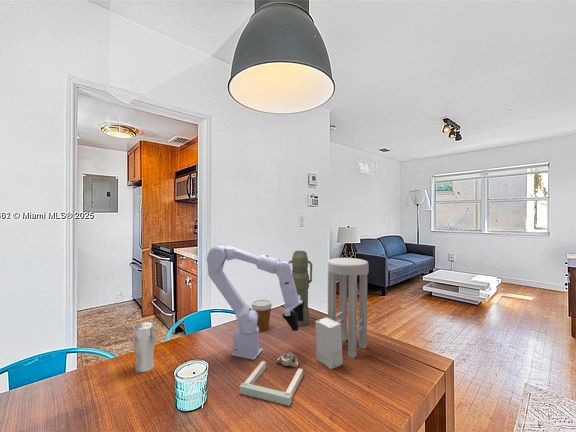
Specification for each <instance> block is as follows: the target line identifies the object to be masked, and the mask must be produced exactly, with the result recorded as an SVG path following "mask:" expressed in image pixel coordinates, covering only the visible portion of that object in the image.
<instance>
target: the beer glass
mask: <svg viewBox="0 0 576 432" xmlns="http://www.w3.org/2000/svg"><path fill="white" fill-rule="evenodd" d="M156 339H157V338H156V323H155V322H153V321H143V322H138V323H137V324H135V325H134V326H133V333H132V342H133V348H134V349H133V350H134V353H135V358H136V360H135V361H136V362H135V366H134V371H135V372H136V373H140V374H141V373H142V372H143V373H146V372H148V371H151V370H153V369H154V368H155V360H154V351H155V346H156ZM143 373H142V374H143Z"/></svg>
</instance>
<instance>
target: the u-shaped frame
mask: <svg viewBox="0 0 576 432" xmlns="http://www.w3.org/2000/svg"><path fill="white" fill-rule="evenodd" d="M266 369H267V361H264V360H261V361H260V363H259V364H258V365H257V367H255V369H254V370H253V371H252V372H251V374H250V375H249V376H248V377H247V379H245V381H244V382H241V384H240V385H239V394H240V395H244V396H249V397H252V398H257V399H260V400H264V401H267V402H268V401H269V402H272V403H277V404H281V405H284V406H288V407H290V406H291V405H292V402H293V397H294V395H295V392H296V390H297V389H298V387H299V385H300V382H301V380H302V379H303V376H304V369H303V368H297V370H296V372H295V374H294V376H293V378H292V380H291V381H290V384H289V385H288V387H287V388H286V391H281V390H276V389H272V388H269V387H265V386H259V385H255V383H256V382H257V380H258V379H259V378H260V376H261V375H262V373H264V371H265V370H266Z"/></svg>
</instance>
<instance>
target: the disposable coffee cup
mask: <svg viewBox="0 0 576 432" xmlns="http://www.w3.org/2000/svg"><path fill="white" fill-rule="evenodd" d="M272 306H273V305H272V301H270V300H269V299H268V300H267V299H258V300H254V301H252V303H251V306H250V307H251V308H252V309H253V310H255V311H256V312H257V313H258V320H257V326H258V328H259V332H264V331H265V332H266V331H267V330H269V326H270V318H271V311H272Z"/></svg>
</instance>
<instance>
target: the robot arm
mask: <svg viewBox="0 0 576 432" xmlns="http://www.w3.org/2000/svg"><path fill="white" fill-rule="evenodd" d="M232 260H239V261H242V262H246V263H249V264H253V265H255V266H256V267H257V269H258V270H261V271H264V272H265V273H270V274H273V275H274V274H276V276H277V277H278V280H279V282H278V284H279V287H280V290H281V294H282V295H281V296H282V298H283V302H284V310H283V314H282V315H281V316H282V318H283V319H284V320H285V321H286V322H287V323H288V325H289V327H290V329H291V330H292V332H294V331H296V332H297V331H298V330H299V326H298V323H297V319H298V321H303V320H304V315H303V308H304V301H302V300H301V297H300V295H298V294H297V290H296V286H295V283H294V279H293V278H292V277H293V276H292V267H291V265H289V261H286V260H285V259H281V258H275V257H273V256H272V257H271V256H270V254H268V253H265V254H261V255H256V254H252V253H250V252H248V251H246V250H242V249H240V248H238V247H234V246H232V245H226V244H223V243H218V244H217V245H215V246H214V247H212V248H210V249H209V251H208V253H207V257H206V263H207V275H208V276H209V278H210V279H211V281H212V282H213V283H214V285H215V286H216V288H217V289H218V291H219V292H220V294H221V295H222V296H223V298H224V299H225V301H226V302H227V304H228V305H229V306H230V308H231V310H232V311H233V312H234V314H235V318H236V321H237V323H238V324H239V328H236V329H235V330H234V332H233V336H232V353H231V356H235V357H238V358H239V357H240V358H243V359H248V360H256V358H257V357H258V356H259V355H260V353H261V352H263V350H264V348H262V347H260V337H259V336H260V331H259V328H258V326H257V320H258V313H257V312H256V311H255V310H253V309H252V307H251V306H250V304H248V303H246V302H245V300H244V299H243V297H242V296H241V295H240V294H239V292H238V291H237V289H236V288H235V286H234V285H233V283H232V281H230V279H229V277H227V275H226V274H225V272H224V267H225V261H226V262H229V261H232ZM300 300H301V301H300ZM292 310H294V312H295V313H293V312H292Z"/></svg>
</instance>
